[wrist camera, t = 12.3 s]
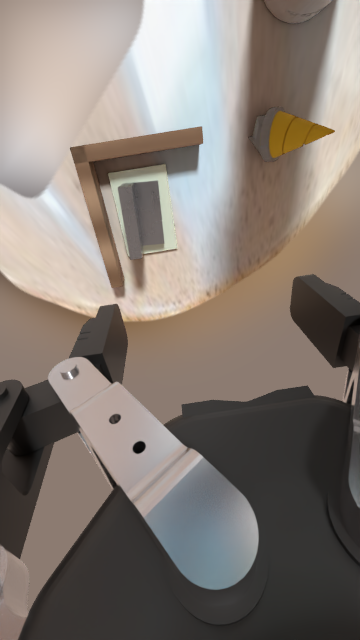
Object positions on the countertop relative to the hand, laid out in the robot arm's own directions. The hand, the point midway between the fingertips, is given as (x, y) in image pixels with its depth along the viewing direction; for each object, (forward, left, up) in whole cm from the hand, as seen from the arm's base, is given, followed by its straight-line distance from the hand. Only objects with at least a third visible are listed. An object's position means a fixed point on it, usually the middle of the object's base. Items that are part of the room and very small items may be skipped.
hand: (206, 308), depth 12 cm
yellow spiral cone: (-7, +14, -29) cm, 33 cm away
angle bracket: (0, -4, -29) cm, 29 cm away
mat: (0, -4, -29) cm, 29 cm away
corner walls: (0, -3, -29) cm, 29 cm away
